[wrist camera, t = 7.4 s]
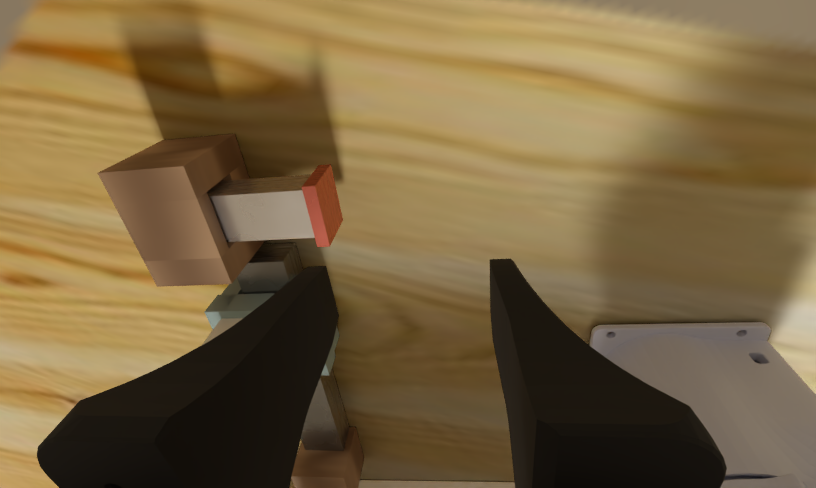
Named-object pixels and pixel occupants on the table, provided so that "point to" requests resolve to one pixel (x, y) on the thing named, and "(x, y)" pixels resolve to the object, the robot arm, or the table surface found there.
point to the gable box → (432, 484)
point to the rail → (326, 408)
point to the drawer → (279, 207)
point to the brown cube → (330, 466)
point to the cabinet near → (180, 209)
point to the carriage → (245, 314)
